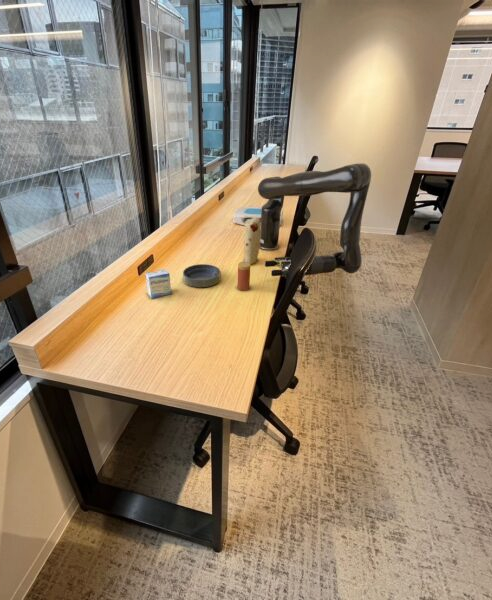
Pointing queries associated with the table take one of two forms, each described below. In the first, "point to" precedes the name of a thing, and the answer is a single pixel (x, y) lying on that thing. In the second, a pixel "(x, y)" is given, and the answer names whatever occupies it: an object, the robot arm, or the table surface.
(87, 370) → the table surface
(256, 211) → the document scanner
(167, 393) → the table surface
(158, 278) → the medicine box
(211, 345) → the table surface
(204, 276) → the bowl
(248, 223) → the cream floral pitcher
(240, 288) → the pill bottle
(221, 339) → the table surface
